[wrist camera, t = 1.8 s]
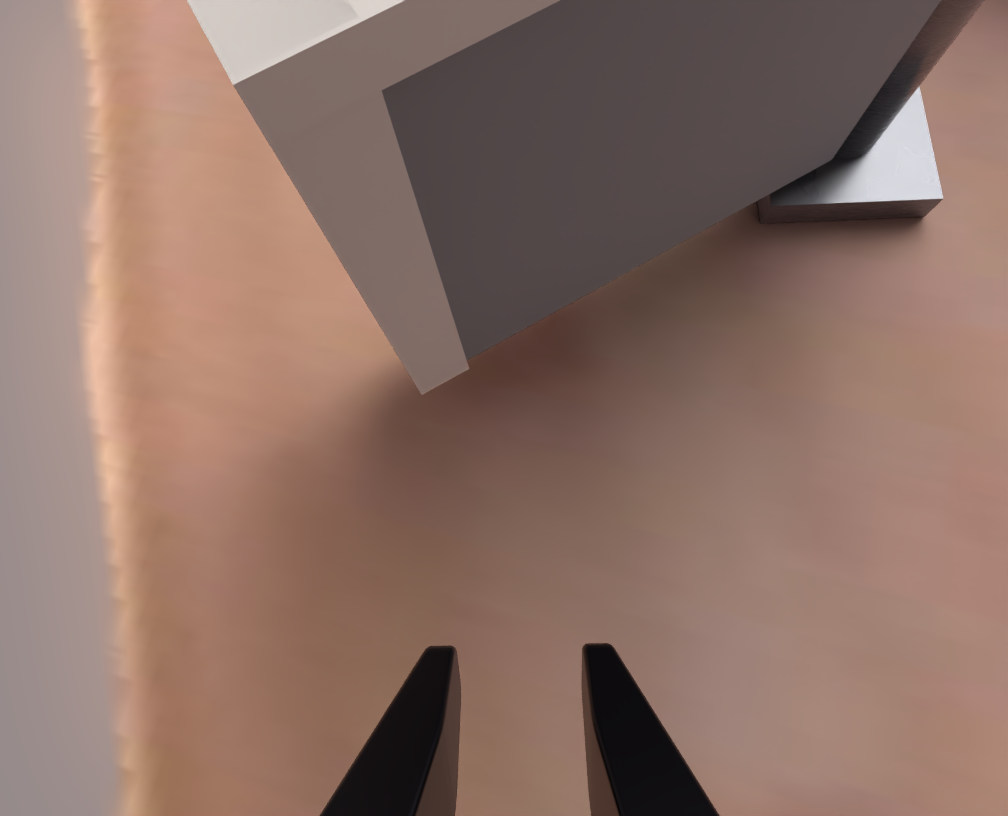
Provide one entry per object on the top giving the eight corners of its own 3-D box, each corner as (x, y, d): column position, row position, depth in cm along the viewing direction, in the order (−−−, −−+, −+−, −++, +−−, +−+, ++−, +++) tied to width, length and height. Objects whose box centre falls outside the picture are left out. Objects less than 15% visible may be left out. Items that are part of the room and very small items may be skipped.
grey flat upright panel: (790, 110, 24) (1122, -515, 10) (838, 168, 23) (1260, -421, 10) (385, 329, 23) (152, -63, 9) (423, 397, 22) (233, 85, 8)
